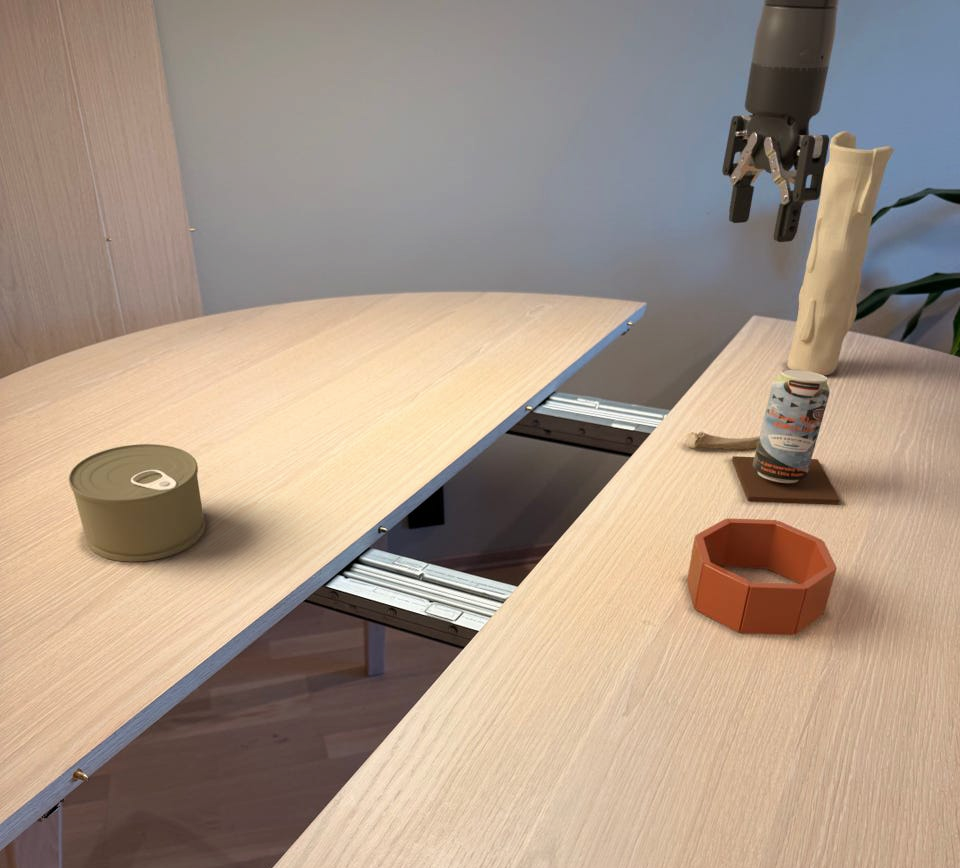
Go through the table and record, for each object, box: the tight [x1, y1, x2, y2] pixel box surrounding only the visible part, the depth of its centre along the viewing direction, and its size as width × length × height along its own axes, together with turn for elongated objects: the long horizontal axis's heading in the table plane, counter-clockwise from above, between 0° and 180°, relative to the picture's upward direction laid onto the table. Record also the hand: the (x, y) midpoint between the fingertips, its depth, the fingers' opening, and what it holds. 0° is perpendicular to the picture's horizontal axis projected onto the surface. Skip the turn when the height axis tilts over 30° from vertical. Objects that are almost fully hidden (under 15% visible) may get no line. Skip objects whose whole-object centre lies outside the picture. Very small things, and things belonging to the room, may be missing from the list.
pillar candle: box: [787, 130, 894, 376], centre depth 132 cm, size 9×8×30 cm
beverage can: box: [753, 368, 830, 483], centre depth 108 cm, size 6×7×12 cm
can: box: [68, 443, 206, 563], centre depth 97 cm, size 12×12×7 cm
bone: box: [685, 431, 760, 450], centre depth 118 cm, size 3×11×2 cm, turn 100°
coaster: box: [731, 455, 841, 505], centre depth 111 cm, size 10×10×1 cm
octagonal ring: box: [686, 518, 838, 636], centre depth 91 cm, size 12×12×5 cm
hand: (759, 231), depth 107 cm, fingers open, 8 cm apart
